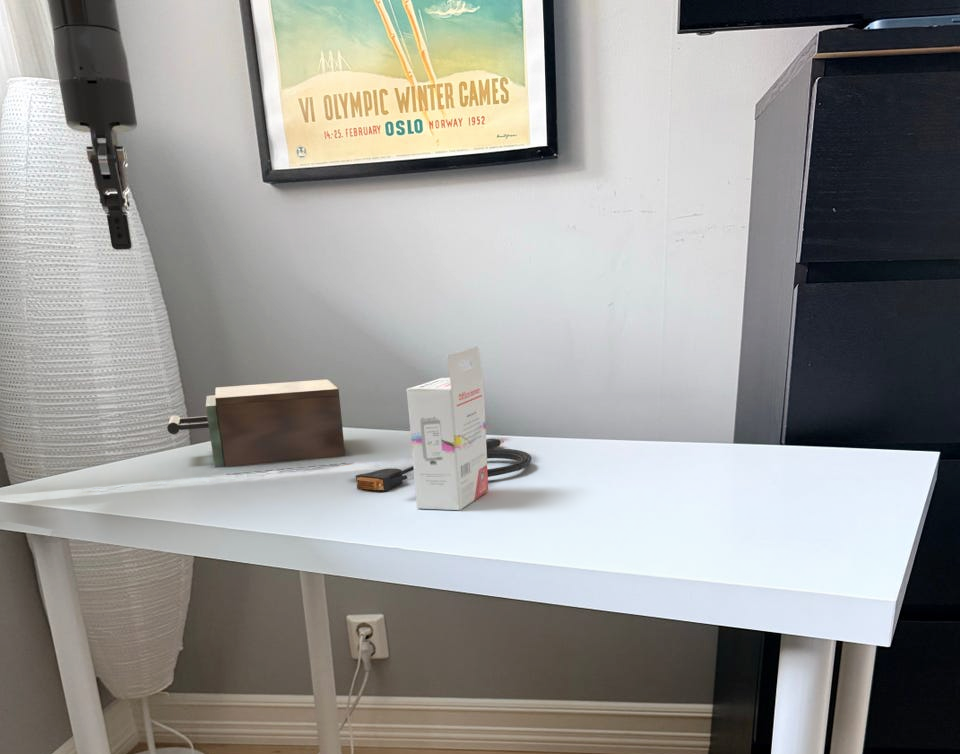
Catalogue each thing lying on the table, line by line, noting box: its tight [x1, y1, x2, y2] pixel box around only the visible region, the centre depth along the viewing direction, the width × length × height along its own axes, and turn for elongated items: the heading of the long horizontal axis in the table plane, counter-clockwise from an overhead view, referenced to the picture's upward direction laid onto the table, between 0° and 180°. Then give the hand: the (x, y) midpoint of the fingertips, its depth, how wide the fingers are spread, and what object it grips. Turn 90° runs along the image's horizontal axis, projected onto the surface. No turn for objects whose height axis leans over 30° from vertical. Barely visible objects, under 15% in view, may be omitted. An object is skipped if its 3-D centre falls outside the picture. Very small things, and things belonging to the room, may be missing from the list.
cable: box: [355, 438, 533, 493], centre depth 108 cm, size 14×28×2 cm, turn 146°
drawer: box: [166, 394, 225, 468], centre depth 117 cm, size 18×11×7 cm, turn 105°
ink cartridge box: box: [405, 345, 489, 511], centre depth 92 cm, size 9×5×15 cm, turn 160°
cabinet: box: [214, 379, 347, 475], centre depth 118 cm, size 15×13×9 cm
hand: (122, 249), depth 109 cm, fingers closed
